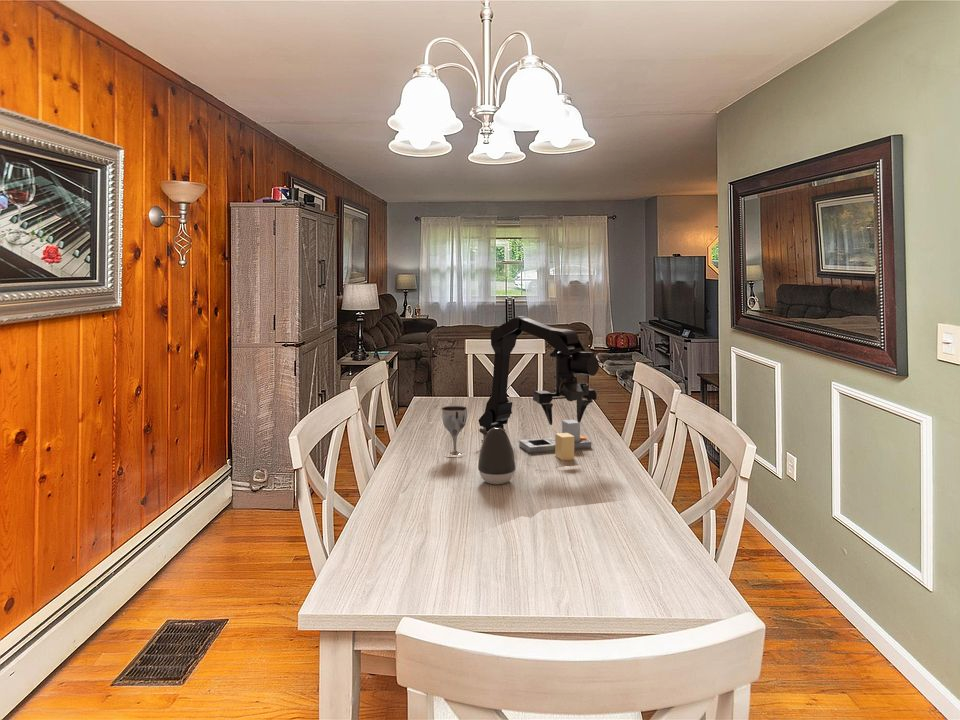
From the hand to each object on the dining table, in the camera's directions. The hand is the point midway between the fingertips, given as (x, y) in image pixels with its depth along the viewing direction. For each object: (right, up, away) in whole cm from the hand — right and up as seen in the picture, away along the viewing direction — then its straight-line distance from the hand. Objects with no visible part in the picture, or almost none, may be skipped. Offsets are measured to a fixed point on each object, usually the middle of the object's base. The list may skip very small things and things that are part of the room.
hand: (564, 423), depth 201 cm
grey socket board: (-1, -10, +13) cm, 17 cm away
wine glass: (-34, -11, +9) cm, 36 cm away
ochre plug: (0, -11, +1) cm, 12 cm away
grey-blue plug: (+4, -9, +15) cm, 17 cm away
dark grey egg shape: (-21, -14, -18) cm, 31 cm away
